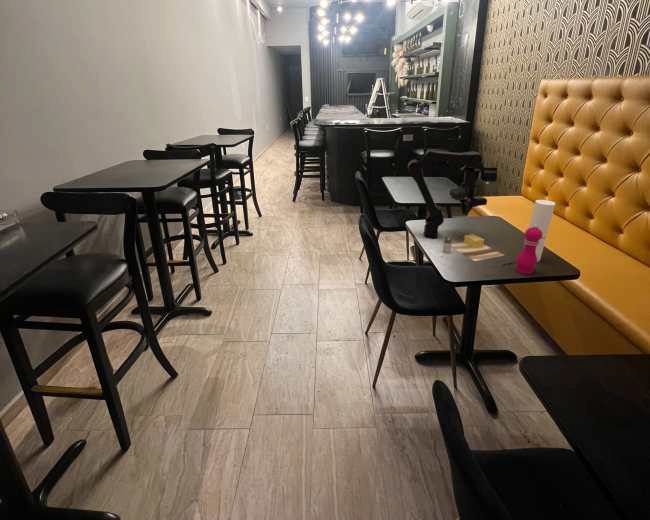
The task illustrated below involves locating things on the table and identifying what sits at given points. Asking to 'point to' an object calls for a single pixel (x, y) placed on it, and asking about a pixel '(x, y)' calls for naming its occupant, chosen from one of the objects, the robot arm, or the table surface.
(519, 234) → the table surface
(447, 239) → the bronze metal canister
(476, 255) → the board
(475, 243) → the mustard yellow box
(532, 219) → the cylindrical container
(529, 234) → the pink bowling pin
